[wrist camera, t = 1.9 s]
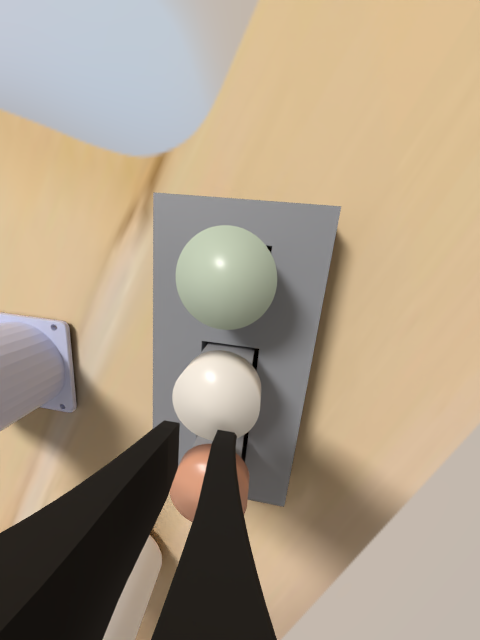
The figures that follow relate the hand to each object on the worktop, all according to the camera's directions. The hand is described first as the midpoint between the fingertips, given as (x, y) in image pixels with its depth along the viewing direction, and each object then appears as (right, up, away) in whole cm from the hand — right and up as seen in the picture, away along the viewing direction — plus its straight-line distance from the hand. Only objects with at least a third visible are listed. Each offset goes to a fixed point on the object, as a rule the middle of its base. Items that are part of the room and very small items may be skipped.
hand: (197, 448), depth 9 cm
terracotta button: (0, -4, +8) cm, 9 cm away
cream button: (+1, +2, +7) cm, 7 cm away
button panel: (+1, +2, +9) cm, 9 cm away
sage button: (+1, +8, +5) cm, 9 cm away
